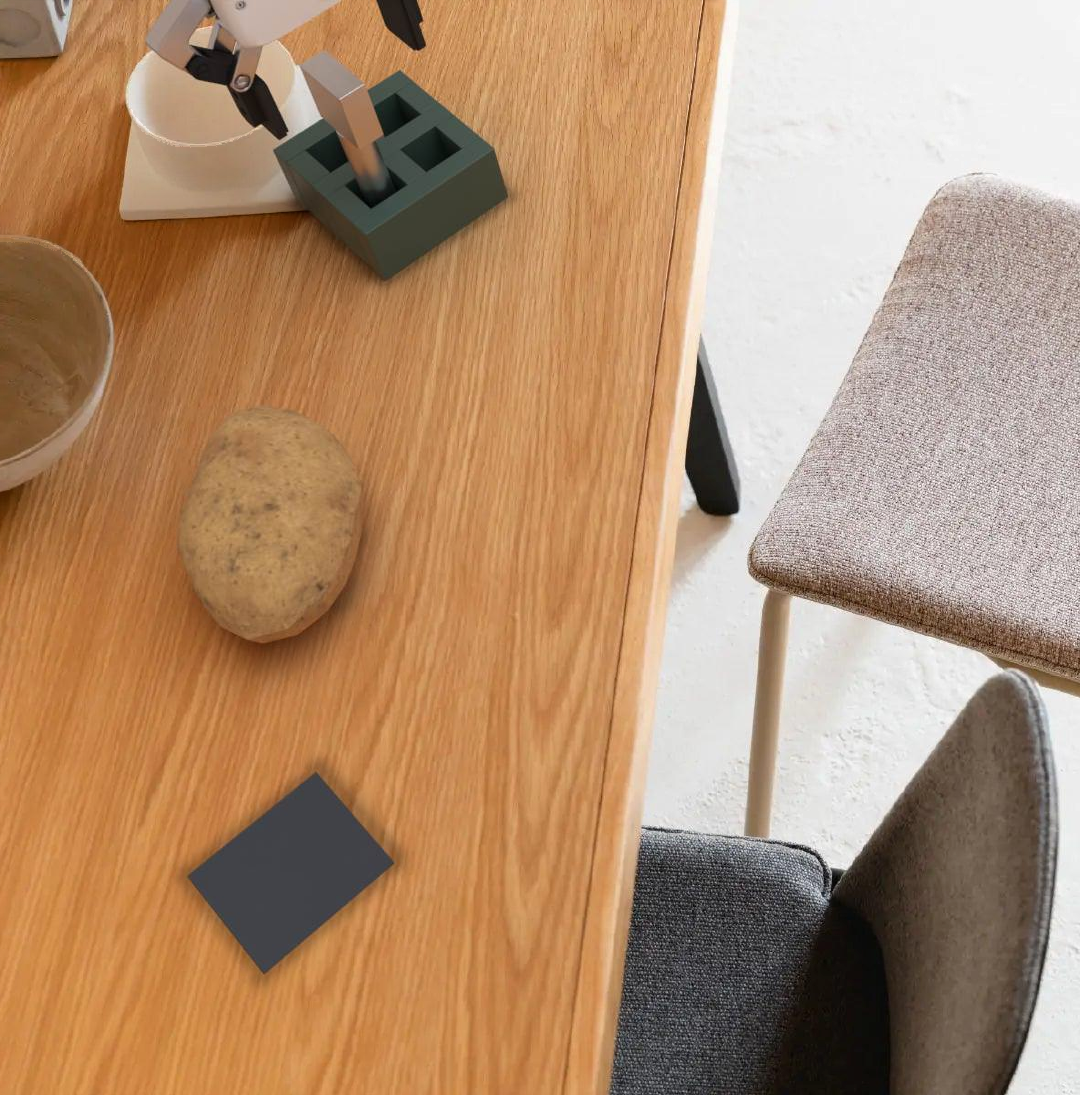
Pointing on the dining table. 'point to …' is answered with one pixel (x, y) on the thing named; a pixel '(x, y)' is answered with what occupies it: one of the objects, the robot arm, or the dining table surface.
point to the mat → (290, 871)
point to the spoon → (350, 122)
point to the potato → (271, 523)
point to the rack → (397, 178)
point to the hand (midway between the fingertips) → (339, 80)
